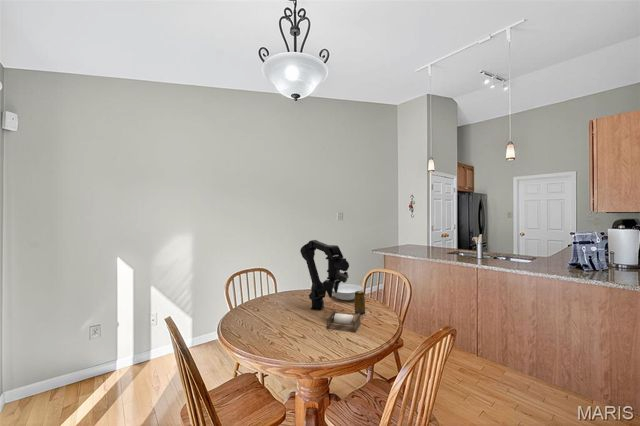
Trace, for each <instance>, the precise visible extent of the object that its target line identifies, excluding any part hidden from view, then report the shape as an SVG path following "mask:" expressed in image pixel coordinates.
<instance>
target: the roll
mask: <svg viewBox="0 0 640 426" xmlns="http://www.w3.org/2000/svg"><path fill="white" fill-rule="evenodd" d="M354 318H355V317H354V314H346V313H339V312H337V313H336V312H335V316H334V323H335V324H343V325H351V326H352V325H353V320H354Z"/></svg>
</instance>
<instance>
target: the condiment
mask: <svg viewBox="0 0 640 426" xmlns="http://www.w3.org/2000/svg"><path fill="white" fill-rule="evenodd" d="M353 300H354V302H353V303H354V311H351V313H352V314H353V315H354V314H355V315H357V314H358V313H360V317H363V316H367V315H369V314H370V312H369V311H366V297H365V292H364V291H356V292H355V297H354V299H353ZM365 311H366V312H367V313H366V314H365ZM363 314H364V315H363Z"/></svg>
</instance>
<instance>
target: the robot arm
mask: <svg viewBox="0 0 640 426" xmlns="http://www.w3.org/2000/svg"><path fill="white" fill-rule="evenodd" d="M316 250H319V251H321V252H323V253H324V255H326V257H325V260H327V269H326V272H327V277H326V279H325V280H324V281H323V282H322V281H321V280H320V276H319V272H318V269H317V265H316V262H315V255H316V253H315V252H316ZM300 254H301V256H302V258H303V259H304V261H305V263H306V265H307V268H308V272H309V277H310V280H311V287H310V290H311V291H310V293H309V294H308V298H309V299H310V300H311V307H310V309H311V310H312V311H313V310H315V311H321V310H323V308H325V303H324V302H325V301H324V298H325V299H326V293H327V295H328V297H329V298H330V299H331V298H332V296H333V293H332V292H333V288H334V291H335V293H337V291H338V286H339V285H340V283H341V282H342V283H343V284H346V283H347V282H348V279H349V273H348V272H347V271H348V270H349V268H350V263H349V262H348V261H347V258H345V257H344V255H343V252H342V251H341V249H340V247H339V245H335V244H333V245H332V244H327V243H324V242H321V241H318V239H312V240H309V241H308V242H307V243H306V244H304V245H303V246H301V248H300Z"/></svg>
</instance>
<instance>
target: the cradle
mask: <svg viewBox="0 0 640 426" xmlns="http://www.w3.org/2000/svg"><path fill="white" fill-rule="evenodd" d="M335 313H336V310H332V312H330V313H329V315H328V316H327V317H326V318H325V319H326V320H325V321H326V330H333V331H334V330H335V331H336V330H337V331H341V332H342V331H343V332H351V333H356V332H357V330H358V329H359V327H360V325H361V315H360V313H358V314H355V317H354V320H353V325H352V326H351V325H343V324H335V323H334V316H335Z"/></svg>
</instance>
